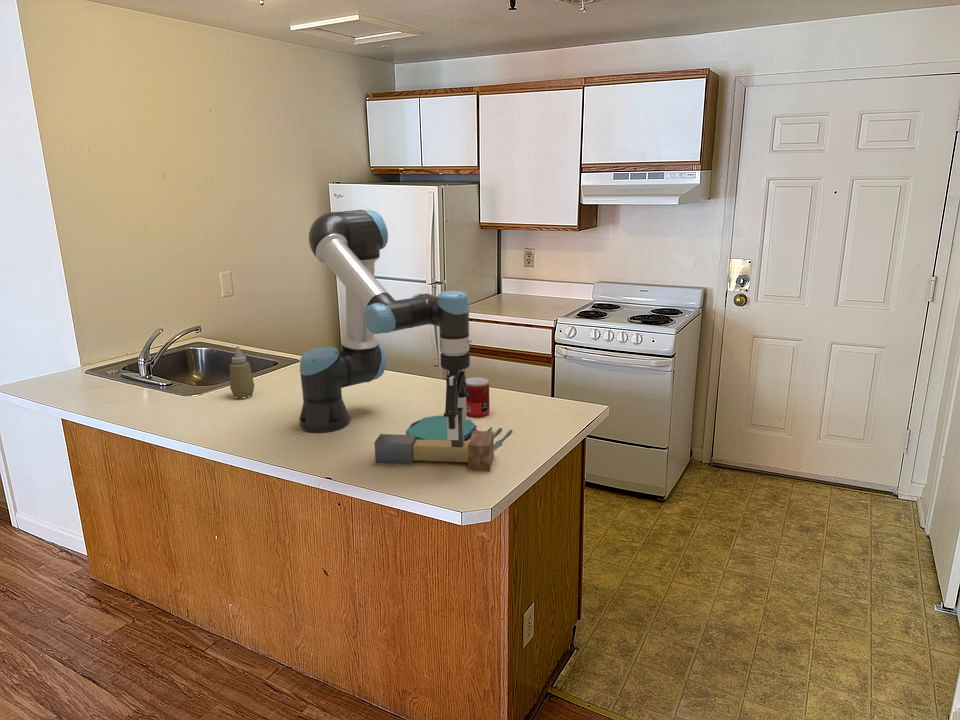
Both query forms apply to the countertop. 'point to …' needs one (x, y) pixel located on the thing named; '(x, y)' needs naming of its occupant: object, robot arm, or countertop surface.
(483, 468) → the socket block
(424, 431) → the cutlery set
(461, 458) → the gray and tan bar
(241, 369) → the squeeze bottle
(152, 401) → the countertop surface
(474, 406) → the canned food
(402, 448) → the sleeve
